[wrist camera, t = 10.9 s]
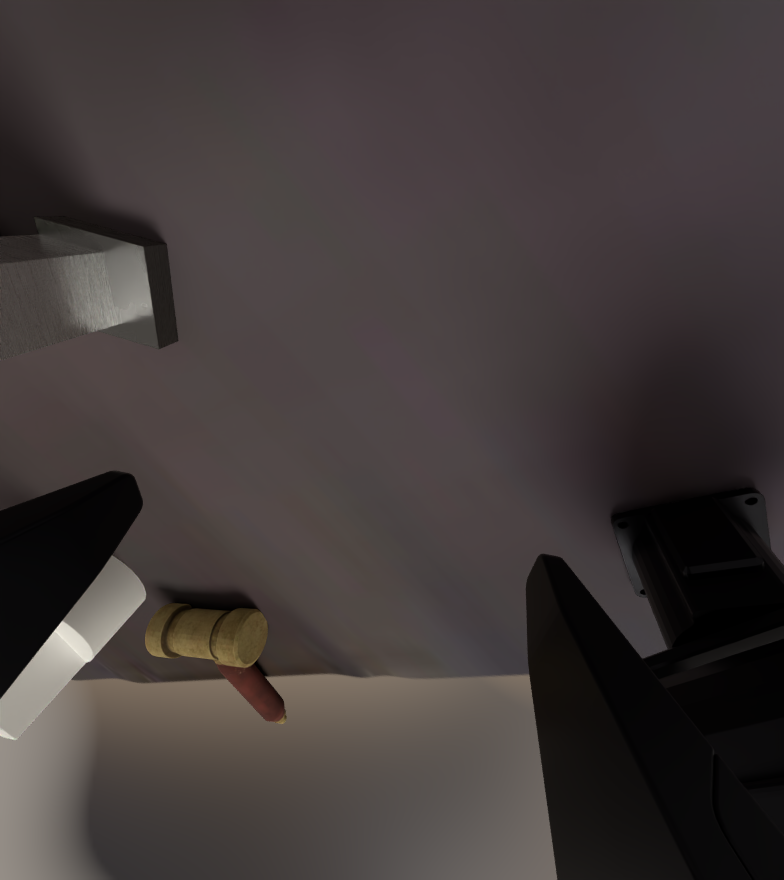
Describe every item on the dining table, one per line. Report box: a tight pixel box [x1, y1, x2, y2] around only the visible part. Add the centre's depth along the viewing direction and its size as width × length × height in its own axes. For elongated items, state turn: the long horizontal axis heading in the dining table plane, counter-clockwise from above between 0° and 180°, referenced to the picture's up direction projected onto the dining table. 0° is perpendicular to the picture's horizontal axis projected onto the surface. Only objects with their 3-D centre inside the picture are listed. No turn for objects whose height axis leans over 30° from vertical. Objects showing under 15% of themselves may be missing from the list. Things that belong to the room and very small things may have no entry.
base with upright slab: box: [0, 556, 146, 740], centre depth 33 cm, size 9×9×12 cm
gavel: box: [145, 603, 286, 724], centre depth 39 cm, size 21×5×10 cm
